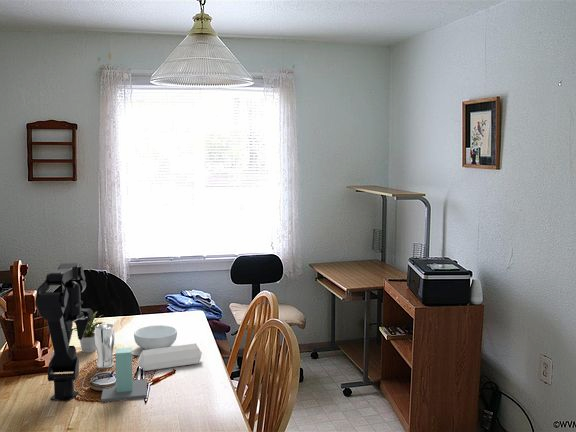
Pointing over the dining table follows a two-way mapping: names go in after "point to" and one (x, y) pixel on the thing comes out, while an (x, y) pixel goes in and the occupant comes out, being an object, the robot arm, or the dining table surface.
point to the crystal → (169, 357)
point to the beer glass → (104, 345)
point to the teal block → (124, 369)
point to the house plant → (89, 336)
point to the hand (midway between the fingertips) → (73, 343)
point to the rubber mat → (136, 393)
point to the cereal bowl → (155, 337)
